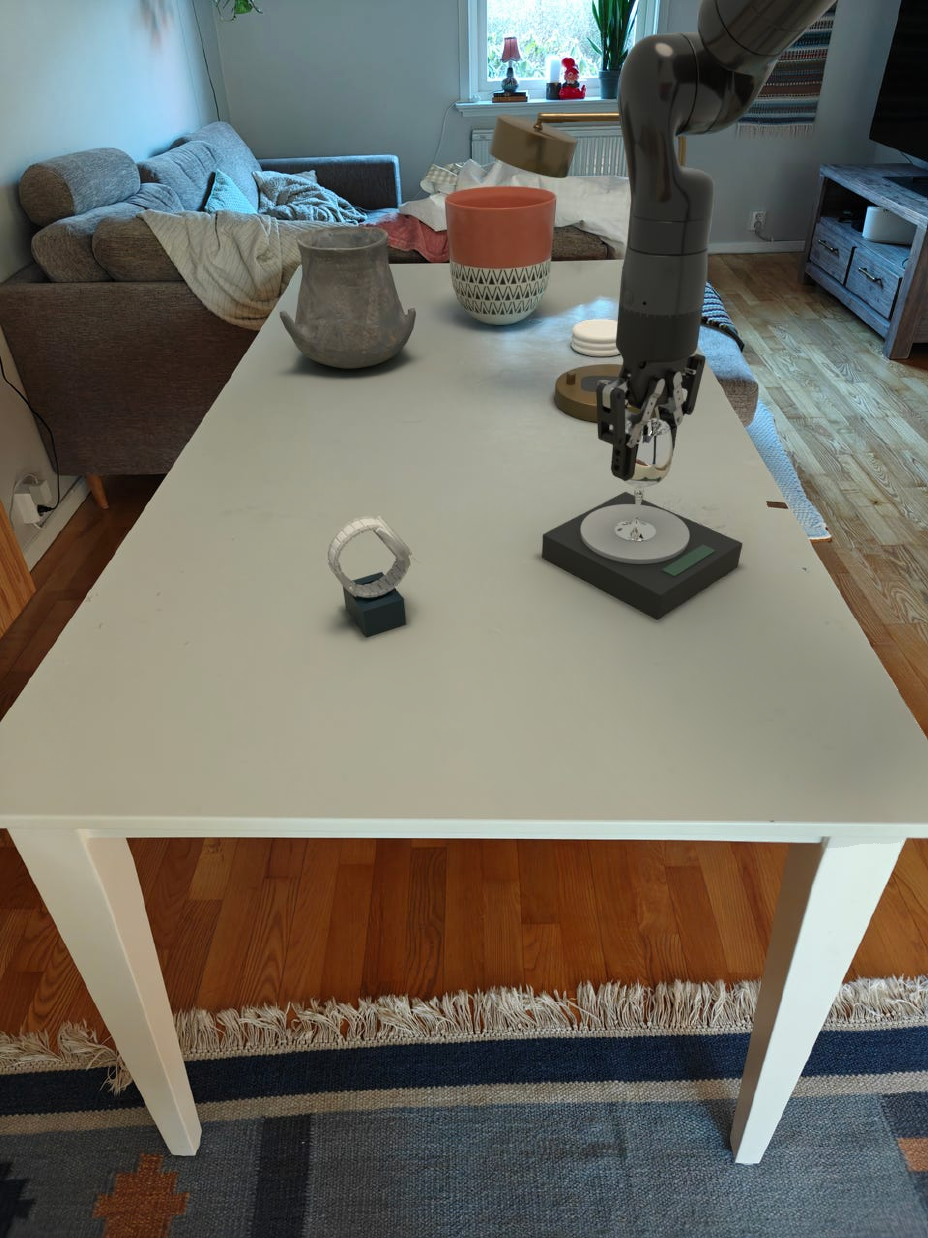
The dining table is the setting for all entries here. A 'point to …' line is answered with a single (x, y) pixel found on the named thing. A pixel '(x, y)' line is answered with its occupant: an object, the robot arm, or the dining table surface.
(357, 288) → the vessel
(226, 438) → the dining table surface
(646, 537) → the wineglass
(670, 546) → the scale
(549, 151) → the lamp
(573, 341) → the white round stack
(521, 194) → the planter
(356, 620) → the watch
